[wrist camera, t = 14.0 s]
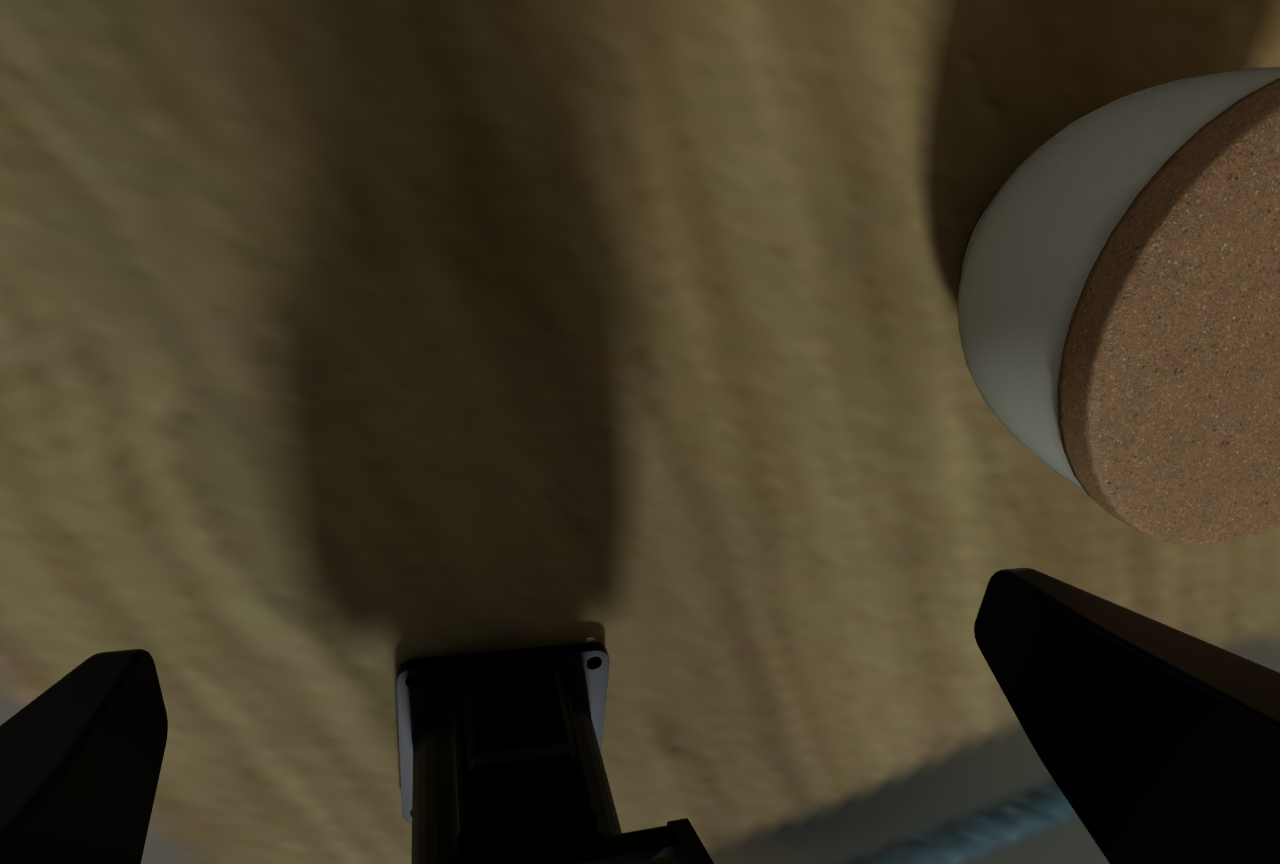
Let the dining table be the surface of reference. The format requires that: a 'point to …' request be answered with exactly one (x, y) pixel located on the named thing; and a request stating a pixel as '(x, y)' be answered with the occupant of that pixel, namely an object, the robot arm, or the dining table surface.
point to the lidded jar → (1143, 306)
